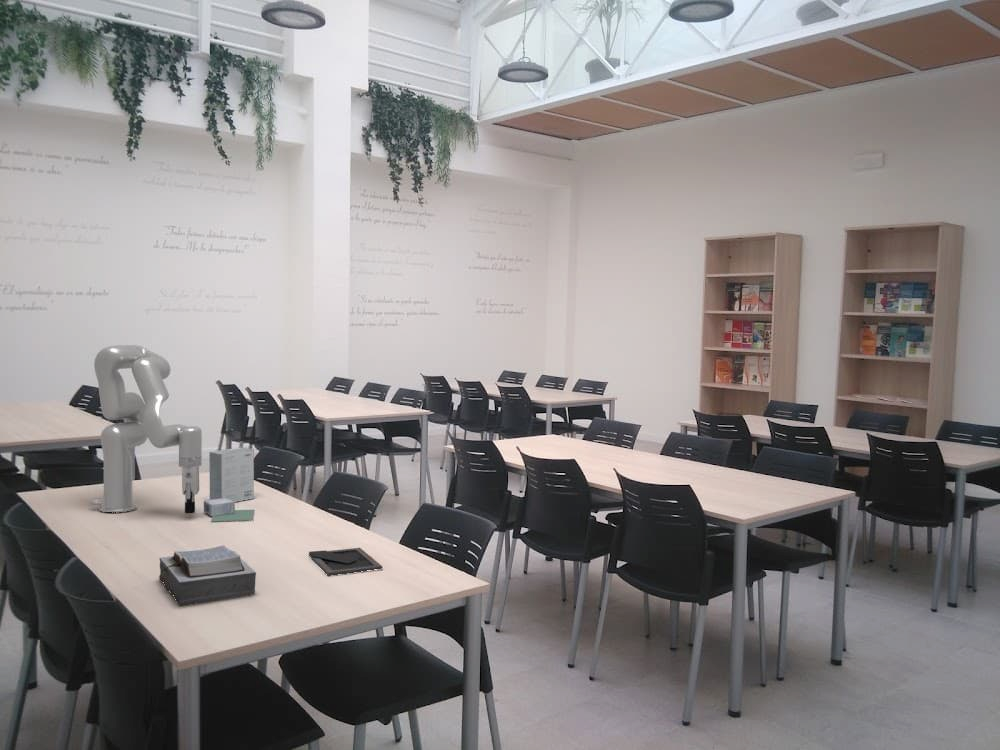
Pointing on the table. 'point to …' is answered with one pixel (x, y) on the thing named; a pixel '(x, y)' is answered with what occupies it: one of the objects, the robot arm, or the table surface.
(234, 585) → the book on foam base
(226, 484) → the hard drive box
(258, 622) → the table surface
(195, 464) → the robot arm
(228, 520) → the felt pad
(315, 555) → the picture frame
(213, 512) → the medicine box
